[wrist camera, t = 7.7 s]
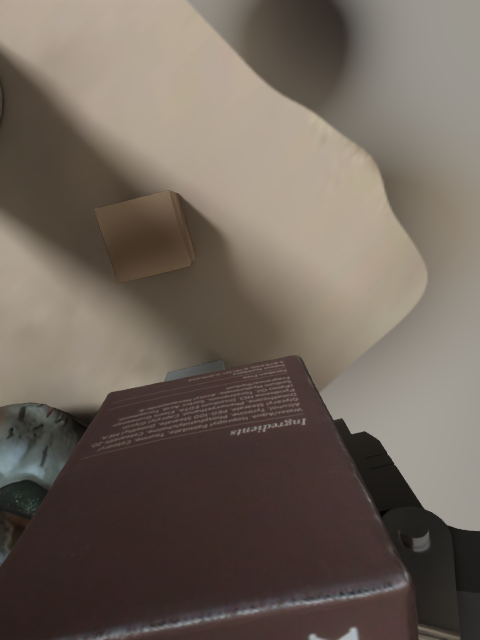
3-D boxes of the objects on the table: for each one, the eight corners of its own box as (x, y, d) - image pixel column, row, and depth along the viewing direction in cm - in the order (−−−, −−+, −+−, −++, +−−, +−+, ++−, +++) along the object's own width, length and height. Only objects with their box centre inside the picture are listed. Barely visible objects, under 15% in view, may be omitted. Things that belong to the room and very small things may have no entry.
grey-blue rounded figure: (170, 473, 36) (106, 671, 26) (86, 483, 41) (6, 648, 31) (48, 376, 28) (-113, 604, 18) (-35, 403, 33) (-193, 589, 23)
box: (107, 385, 11) (-86, 664, 4) (302, 348, 11) (426, 575, 4) (156, 540, 13) (75, 922, 6) (326, 510, 13) (444, 863, 6)
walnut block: (115, 209, 29) (93, 208, 24) (178, 193, 29) (168, 190, 24) (135, 272, 30) (118, 283, 26) (195, 257, 30) (189, 266, 25)
